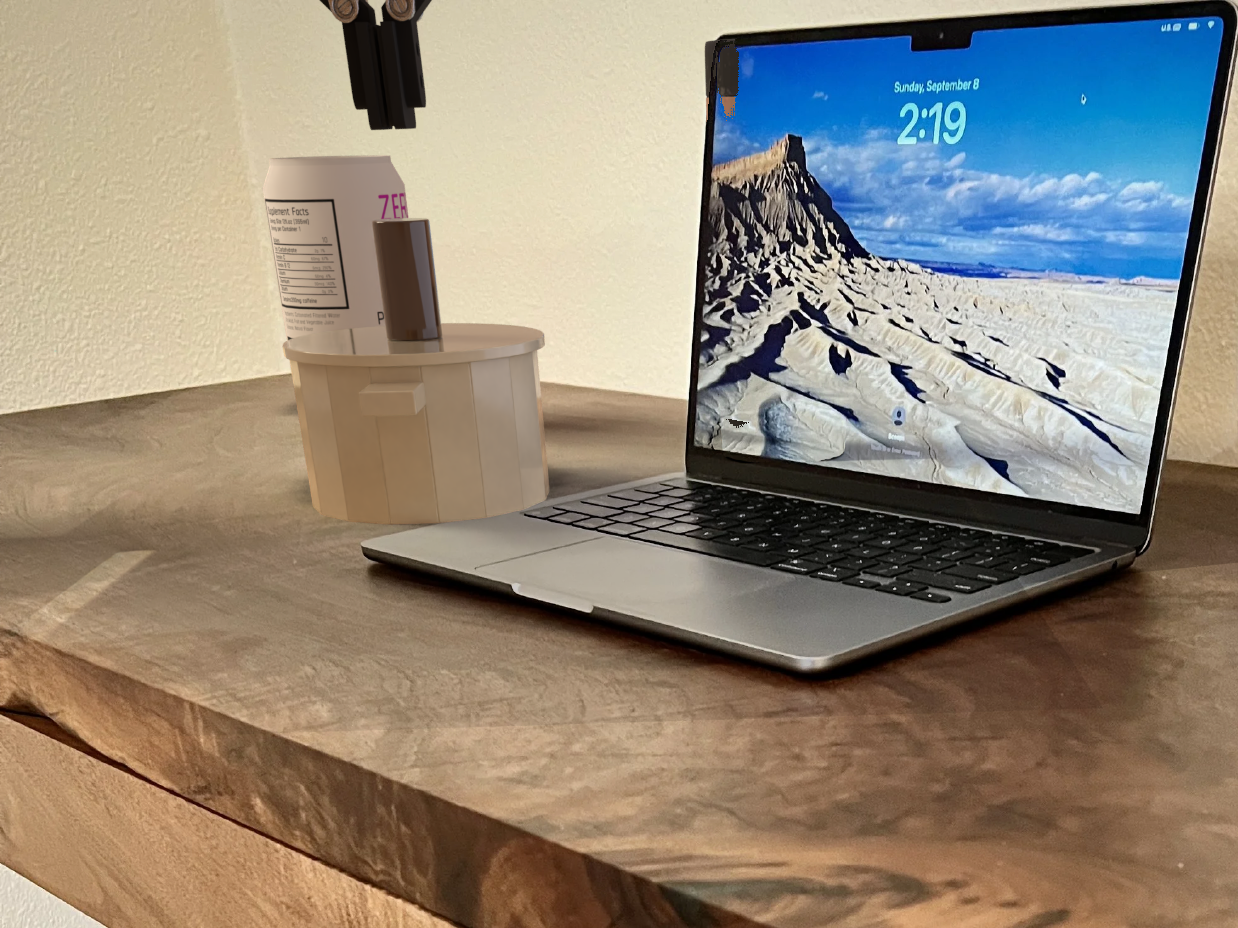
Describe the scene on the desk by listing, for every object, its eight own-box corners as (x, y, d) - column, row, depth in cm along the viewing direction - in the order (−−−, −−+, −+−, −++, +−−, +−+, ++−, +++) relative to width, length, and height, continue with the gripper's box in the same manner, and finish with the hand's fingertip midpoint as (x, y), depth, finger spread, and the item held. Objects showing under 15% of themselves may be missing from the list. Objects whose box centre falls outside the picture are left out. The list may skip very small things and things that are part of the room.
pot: (280, 552, 73) (250, 377, 69) (351, 479, 87) (329, 331, 84) (532, 545, 73) (516, 370, 69) (561, 473, 88) (549, 326, 84)
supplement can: (298, 420, 105) (255, 157, 97) (426, 412, 107) (394, 153, 99) (304, 440, 98) (259, 160, 91) (441, 431, 100) (407, 155, 93)
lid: (258, 384, 71) (232, 230, 68) (316, 349, 82) (295, 214, 79) (534, 377, 72) (520, 224, 69) (556, 343, 82) (545, 209, 79)
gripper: (523, -392, 66) (567, 122, 75) (157, -383, 66) (246, 133, 75) (503, -447, 60) (554, 124, 69) (97, -436, 59) (203, 135, 69)
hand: (393, 127), depth 72 cm, fingers closed
